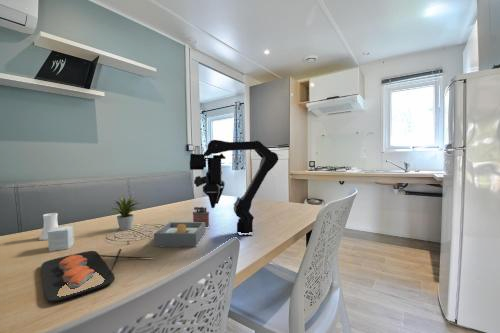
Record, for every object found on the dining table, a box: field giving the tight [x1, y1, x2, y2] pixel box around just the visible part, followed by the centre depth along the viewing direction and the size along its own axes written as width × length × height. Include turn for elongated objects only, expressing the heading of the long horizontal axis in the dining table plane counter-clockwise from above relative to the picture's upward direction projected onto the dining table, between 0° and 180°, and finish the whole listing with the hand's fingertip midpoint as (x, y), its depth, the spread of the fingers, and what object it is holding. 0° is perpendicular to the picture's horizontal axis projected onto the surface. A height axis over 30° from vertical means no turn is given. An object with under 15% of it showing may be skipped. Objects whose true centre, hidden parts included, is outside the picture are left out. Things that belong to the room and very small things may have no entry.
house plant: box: [111, 194, 143, 231], centre depth 110 cm, size 14×14×16 cm
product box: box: [47, 225, 75, 252], centre depth 88 cm, size 6×6×7 cm
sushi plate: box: [40, 248, 149, 303], centre depth 73 cm, size 29×30×4 cm
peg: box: [177, 224, 186, 233], centre depth 96 cm, size 4×4×6 cm
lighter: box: [192, 206, 210, 227], centre depth 113 cm, size 8×3×10 cm, turn 84°
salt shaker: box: [38, 212, 59, 241], centre depth 99 cm, size 8×8×10 cm
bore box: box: [153, 221, 206, 247], centre depth 96 cm, size 16×16×5 cm
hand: (214, 205), depth 100 cm, fingers open, 9 cm apart
